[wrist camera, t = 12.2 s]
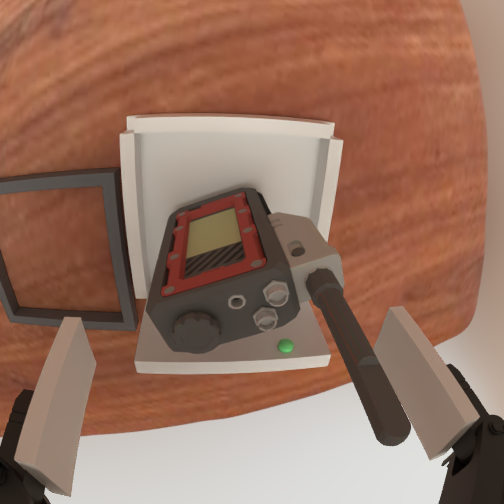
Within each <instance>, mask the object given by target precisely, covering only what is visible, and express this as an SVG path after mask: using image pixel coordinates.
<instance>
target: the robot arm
mask: <svg viewBox="0 0 504 504" xmlns="http://www.w3.org/2000/svg"><path fill="white" fill-rule="evenodd" d="M373 351H374V353H375V355H376V357H377V359H378V360H379V362H380V364H381V366H382V368H383V370H384V372H385V374H386V376H387V378H388V380H389V381H390V383H391V385H392V387H393V389H394V391H395V393H396V395H397V397H398V399H399V400H400V402H401V404H402V406H403V408H404V410H405V412H406V414H407V416H408V418H409V420H410V421H411V423H412V425H413V427H414V429H415V431H416V433H417V435H418V437H419V439H420V441H421V443H422V445H423V447H424V449H425V451H426V453H427V455H428V458H429V460H433V459H435V458H438V457H440V456H442V455H444V454H445V453H446V452H447V451H448V450H449V449H450V448H451V447H452V449H453V451H454V452H453V453H452V454H451V455H450V456H449V457H448V458H447V459H445V460H444V461H443V463H442V466H444V465H445V464H446V463H447V462H449V464H448V465H447V467H448V470H447V474H446V478H445V482H444V486H443V490H442V494H441V497H440V501H439V504H504V420H503V419H502V418H501V417H499V416H497V415H489V414H488V413H487V412H486V410H485V408H484V407H483V405H482V404H481V402H480V401H479V399H478V397H477V396H476V394H475V393H474V392H473V390H472V389H470V386H469V384H468V383H467V382H466V381H465V378H464V377H463V376H462V374H461V373H460V371H459V370H458V369H456V368H455V367H454V366H453V365H452V364H448V365H446V364H445V363H444V361H443V360H442V358H441V357H440V356H439V354H438V353H437V352H436V350H435V349H434V347H433V346H432V344H431V343H430V342H429V340H428V339H427V338H426V336H425V335H424V333H423V332H422V331H421V329H420V328H419V327H418V325H417V324H416V323H415V321H414V320H413V319H412V317H411V316H410V315H409V313H408V312H407V311H406V309H405V308H404V307H403V306H397V307H389V310H388V313H387V315H386V318H385V321H384V323H383V326H382V328H381V331H380V333H379V336H378V338H377V341H376V343H375V346H374V348H373ZM96 364H97V363H96V361H95V358H94V355H93V352H92V350H91V347H90V344H89V341H88V338H87V335H86V332H85V329H84V326H83V323H82V320H81V317H64V319H63V321H62V324H61V326H60V328H59V330H58V333H57V335H56V337H55V340H54V342H53V344H52V347H51V349H50V352H49V354H48V357H47V359H46V362H45V364H44V367H43V369H42V372H41V375H40V377H39V380H38V383H37V385H36V388H35V391H32V390H26V389H24V390H23V391H22V392H21V393H20V395H19V396H18V397H17V398H16V400H15V403H14V405H13V408H12V413H11V414H10V417H9V422H8V423H7V426H6V429H5V432H4V435H3V439H2V442H1V446H0V504H50V502H49V500H48V499H47V497H46V496H45V495H44V490H45V487H46V488H47V489H48V490H49V491H51V492H52V493H56V494H60V495H65V496H69V497H71V490H72V482H73V475H74V469H75V462H76V456H77V450H78V444H79V439H80V434H81V429H82V424H83V419H84V414H85V410H86V405H87V401H88V396H89V392H90V388H91V384H92V380H93V376H94V372H95V368H96Z"/></svg>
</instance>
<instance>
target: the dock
mask: <svg viewBox="0 0 504 504" xmlns="http://www.w3.org/2000/svg"><path fill="white" fill-rule="evenodd" d="M334 125H335V123H333V122H329V121H321V120H312V119H303V118H292V117H281V116H267V115H250V114H225V113H169V114H144V115H130V116H127V130H126V131H124V132H123V133H121V134H120V158H121V176H122V190H123V203H124V214H125V223H126V233H127V241H128V249H129V257H130V264H131V271H132V278H133V284H134V290H135V296H136V299H147V301H148V296H149V292H150V287H151V283H152V279H153V275H154V270H155V266H156V262H157V259H158V255H159V253H160V252H159V250H160V249H161V248H160V247H161V245H162V241H163V237H164V233H165V229H166V226H167V225H166V224H167V220H168V217H169V216H170V215H171V214H172V213H174V212H175V211H176V210H178V209H179V208H181V207H184V206H187V205H190V204H193V203H196V202H199V201H202V200H205V199H208V198H211V197H214V196H217V195H220V194H223V193H226V192H229V191H232V190H235V189H238V188H242V187H243V188H254V189H256V191H257V192H259V193H262V195H263V197H264V199H265V201H266V203H267V205H268V208H269V210H270V211H271V213H272V214H273V213H276V212H281V213H286V214H292V215H298V216H303V217H307V218H309V219H311V221H312V222H313V224H314V225H315V226H316V228H317V229H318V231H319V232H320V233H321V235H322V236H323V238H324V239H325V241H326V242H327V240H328V235H329V230H330V224H331V218H332V212H333V206H334V200H335V194H336V188H337V182H338V175H339V168H340V161H341V154H342V147H343V140H341V139H339V138H337V137H334V136H333V133H334ZM147 301H146V305H147ZM146 305H145V309H144V314H143V319H142V323H141V328H140V333H139V338H138V343H137V348H136V354H135V359H134V363H135V366H136V370H137V373H152V374H226V373H250V372H267V371H281V370H293V369H304V368H314V367H323V366H328V363H329V360H330V357H331V353H330V350H329V348H328V346H327V343H326V341H325V339H324V336H323V334H322V331H321V329H320V327H319V324H318V322H317V320H316V317H315V315H314V313H313V310H312V308H311V306H310V303H309V301H305V302H302V303H299V305H300V311H299V313H298V315H297V317H296V318H294V319H293V320H291V321H290V322H289V323H287V324H286V325H284V326H282V327H279V328H276V329H273V330H269V331H266V332H263V333H259V334H256V335H253V336H249V337H246V338H242V339H239V340H235V341H231V342H228V343H224V344H220V345H219V346H218V347H216V348H215V349H214V350H212V351H209V352H207V353H204V354H192V353H188V352H174V351H172V350H171V349H170V348H169V347H168V345H167V344H166V342H165V341H164V339H163V338H162V336H161V335H160V333H159V331H158V330H157V328H156V327H155V325H154V323H153V322H152V320H151V319H150V317H149V315H148V314H147V312H146V311H145V310H146Z"/></svg>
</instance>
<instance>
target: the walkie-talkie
mask: <svg viewBox="0 0 504 504" xmlns="http://www.w3.org/2000/svg"><path fill="white" fill-rule="evenodd" d="M166 225H167V226H166V229H165V233H164V237H163V241H162V245H161V247H160V248H161V249H160V250H159V252H160V253H159V255H158V259H157V262H156V266H155V270H154V275H153V279H152V283H151V287H150V292H149V296H148V301H147V305H146V310H145V311H146V312H147V314H148V315H149V317H150V319H151V320H152V322H153V323H154V325H155V327H156V328H157V330H158V331H159V333H160V335H161V336H162V338H163V339H164V341H165V342H166V344H167V345H168V347H169V348H170V349H171V350H172V351H174V352H188V353H192V354H204V353H207V352H209V351H212V350H214V349H215V348H216V347H218V346H219V345H220V344H224V343H228V342H231V341H235V340H239V339H242V338H246V337H249V336H253V335H256V334H259V333H263V332H266V331H269V330H273V329H276V328H279V327H282V326H284V325H286V324H287V323H289V322H290V321H291V320H293V319H294V318H296V317H297V315H298V313H299V311H300V305H299V303H302V302H305V301H308V300H311V299H312V301H313V304H314V305H315V306H317V307H318V308H320V309H321V311H322V313H323V316H324V318H325V320H326V322H327V324H328V327H329V329H330V331H331V333H332V335H333V338H334V340H335V342H336V344H337V347H338V349H339V351H340V353H341V356H342V358H343V360H344V363H345V365H346V367H347V369H348V372H349V374H350V376H351V379H352V381H353V383H354V386H355V388H356V390H357V393H358V395H359V397H360V400H361V402H362V404H363V407H364V409H365V411H366V414H367V416H368V419H369V421H370V424H371V426H372V428H373V431H374V433H375V436H376V438H377V440H378V441H379V442H380V443H381V444H383V445H386V446H396V445H399V444H400V443H402V442H404V440H405V439H406V438H407V437H408V435H409V433H410V430H411V424H410V421H409V419H408V417H407V415H406V413H405V411H404V409H403V407H402V406H401V403H400V401H399V399H398V397H397V395H396V393H395V391H394V389H393V387H392V385H391V383H390V381H389V380H388V378H387V376H386V374H385V372H384V370H383V368H382V366H381V364H380V362H379V360H378V359H377V357H376V355H375V353H374V351H373V349H372V347H371V345H370V344H369V342H368V340H367V338H366V336H365V334H364V333H363V331H362V329H361V327H360V325H359V323H358V322H357V320H356V318H355V316H354V315H353V313H352V311H351V309H350V307H349V306H348V304H347V302H346V300H345V299H344V297H343V287H344V278H343V271H342V264H341V257H340V255H339V253H338V252H337V251H336V249H335V248H334V247H333V246H329V245H328V243H327V242H326V241H325V239H324V238H323V236H322V235H321V233H320V232H319V231H318V229H317V228H316V226H315V225H314V224H313V222H312V221H311V219H309V218H307V217H303V216H298V215H292V214H286V213H281V212H276V213H273V214H272V213H271V211H270V210H269V208H268V205H267V203H266V201H265V199H264V197H263V195H262V193H259V192H257V191H256V189H254V188H243V187H242V188H238V189H235V190H232V191H229V192H226V193H223V194H220V195H217V196H214V197H211V198H208V199H205V200H202V201H199V202H196V203H193V204H190V205H187V206H184V207H181V208H179V209H178V210H176V211H175V212H174V213H172V214H171V215H170V216H169V217H168V220H167V224H166Z"/></svg>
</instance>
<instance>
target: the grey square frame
mask: <svg viewBox="0 0 504 504" xmlns="http://www.w3.org/2000/svg"><path fill="white" fill-rule="evenodd" d="M96 186H102V188H103V198H104V207H105V216H106V224H107V231H108V238H109V245H110V252H111V258H112V264H113V270H114V275H115V281H116V286H117V291H118V296H119V301H120V306H121V311H122V313H120V312H92V311H71V310H54V309H39V308H25V307H19V305H18V303H17V300H16V297H15V295H14V292H13V289H12V286H11V283H10V280H9V277H8V274H7V271H6V268H5V265H4V262H3V258H2V255H1V252H0V299H1V301H2V304H3V306H4V309H5V311H6V314H7V316H8V318H9V321H10V322H12V323H21V324H31V325H42V326H53V327H60V326H61V324H62V321H63V319H64V317H81V320H82V323H83V326H84V329H98V330H120V331H136V329H137V324H138V316H137V311H136V306H135V300H134V294H133V288H132V282H131V276H130V269H129V262H128V255H127V247H126V239H125V231H124V222H123V212H122V201H121V189H120V175H119V167H118V168H100V169H86V170H73V171H61V172H51V173H41V174H32V175H23V176H15V177H8V178H0V194H7V193H17V192H27V191H39V190H51V189H64V188H79V187H96Z"/></svg>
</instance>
